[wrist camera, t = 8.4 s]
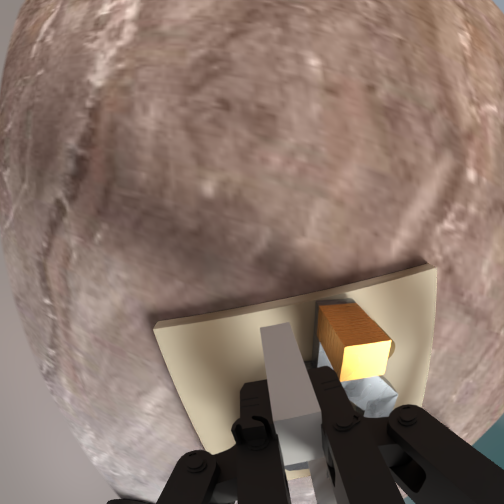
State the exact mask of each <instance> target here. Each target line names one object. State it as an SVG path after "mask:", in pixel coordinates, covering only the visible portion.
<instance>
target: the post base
mask: <svg viewBox="0 0 504 504" xmlns="http://www.w3.org/2000/svg"><path fill="white" fill-rule="evenodd" d="M436 292H437V267H435V266H433V265H431V264H429V263H427V264H424V265H420V266H417V267H413V268H409V269H406V270H402V271H398V272H395V273H391V274H387V275H383V276H379V277H376V278H372V279H368V280H364V281H360V282H356V283H352V284H347V285H343V286H339V287H335V288H331V289H326V290H322V291H317V292H313V293H308V294H304V295H299V296H295V297H290V298H285V299H280V300H276V301H271V302H266V303H261V304H256V305H250V306H245V307H240V308H235V309H229V310H224V311H218V312H212V313H207V314H201V315H195V316H189V317H182V318H176V319H170V320H163V321H157V323H156V325H155V326H154V328H153V331H154V334H155V336H156V339H157V342H158V344H159V347H160V350H161V352H162V355H163V358H164V360H165V363H166V365H167V368H168V370H169V373H170V375H171V377H172V380H173V382H174V385H175V387H176V389H177V391H178V394H179V396H180V398H181V401H182V403H183V405H184V407H185V409H186V411H187V414H188V416H189V418H190V420H191V422H192V424H193V426H194V428H195V430H196V432H197V434H198V436H199V438H200V440H201V442H202V444H203V446H204V448H205V450H206V451H207V452H209V453H211V454H212V455H214V454H217V453H220V452H223V451H225V450H228V449H230V448H231V447H232V446H234V445H235V444H236V442H235V440H234V437H233V434H232V432H231V428H232V425H233V423H234V422H235V421H236V420H237V419H238V418H240V390H241V388H242V387H243V385H244V383H248V382H254V381H259V380H265V379H267V375H266V368H265V361H264V354H263V347H262V340H261V333H260V328H261V327H266V326H271V325H276V324H281V323H286V322H289V323H290V325H291V328H292V331H293V334H294V336H295V339H296V342H297V345H298V347H299V350H300V353H301V356H302V359H303V361H310V360H311V359H312V347H313V334H314V319H315V302H316V301H319V300H333V299H346V298H352V299H353V300H354V301H355V302H356V303H357V304H358V305H359V306H360V307H361V308H362V309H363V310H364V311H365V312H366V313H367V315H368V316H369V317H370V318H371V319H372V320H373V321H374V322H375V323H376V324H377V325H378V326H379V327H380V328H381V329H382V331H383V332H384V333H385V334H386V335H387V336H388V337H389V338H390V339H391V345H390V350H389V354H388V359H387V363H386V367H385V371H384V374H382V376H383V377H385V378H386V379H387V380H388V381H389V382H390V383H391V385H392V386H393V387H394V389H395V390H396V392H397V393H398V397H397V400H396V403H395V406H394V408H393V410H394V409H395V408H397V407H399V406H401V405H407V404H412V405H417V406H419V407H422V402H423V398H424V393H425V388H426V382H427V377H428V371H429V365H430V358H431V351H432V343H433V334H434V323H435V311H436ZM350 402H351V401H350ZM351 404H352V406H353V408H354V410H356V406H357V405H356V404H354V403H353V402H351ZM307 462H308V466H309V469H302V470H294V471H288V470H286V469H285V472H286V476H287V480H292V479H297V478H302V477H307V476H311V479H312V483H313V487H314V491H315V496H316V500H317V504H337V502H336V499H335V495H334V492H333V488H332V485H331V481H330V478H327V462H326V458H325V455H324V457H323V458H319V459H315V460H310V461H307Z"/></svg>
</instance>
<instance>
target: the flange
mask: <svg viewBox="0 0 504 504" xmlns="http://www.w3.org/2000/svg"><path fill="white" fill-rule="evenodd" d="M390 345H391V339H390V338H389V337H388V336H387V335H386V334H385V333H384V332H383V331H382V329H381V328H380V327H379V326H378V325H377V324H376V323H375V322H374V321H373V320H372V319H371V318H370V317H369V316H368V315H367V313H366V312H365V311H364V310H363V309H362V308H361V307H360V306H359V305H358V304H357V303H356V302H355V301H354V300H353V299H352V298H346V299H333V300H319V301H316V302H315V319H314V334H313V347H312V359H311V360H310V361H304V364H305V367H306V370H310V369H314V368H318V367H322V366H326V365H327V366H329V367H330V368H332V369H333V370H335V372H336V374H337V376H338V378H339V380H340V382H341V384H342V386H343V388H344V390H345V392H346V394H347V396H348V398H349V400H350V401H351V402H353V403H354V404H356V405H357V406H356V410H355V411H356V412H358V413H360V414H361V415H362V416H364V417H369V418H379V417H389V415H390V413H391V412H392V411H393V408H394V406H395V403H396V400H397V397H398V393H397V392H396V390H395V389H394V387H393V386H392V385H391V383H390V382H389V381H388V380H387V379H386V378H385V377H383V376H382V374H384V371H385V367H386V363H387V359H388V354H389V350H390ZM285 469H286V470H288V471H294V470H302V469H309V466H308V462H307V461H306V462H301V463H296V464H291V465H285Z"/></svg>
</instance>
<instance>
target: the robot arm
mask: <svg viewBox="0 0 504 504" xmlns="http://www.w3.org/2000/svg"><path fill="white" fill-rule="evenodd" d="M260 333H261V340H262V347H263V354H264V361H265V368H266V375H267V379H265V380H259V381H254V382H248V383H244V385H243V387H242V388H241V390H240V418H238V419H237V420H236V421H235V422H234V423H233V425H232V428H231V432H232V434H233V437H234V440H235V442H236V444H235V445H234V446H232V447H231V448H230V449H228V450H225V451H223V452H220V453H217V454H214V455H212V454H211V453H209V452H207V451H203V450H194V451H191V452H188V453H186V454H185V455H183V456H182V457H181V458H180V459H179V460H178V462H177V464H176V466H175V468H174V470H173V472H172V473H171V475H170V477H169V479H168V481H167V483H166V485H165V487H164V489H163V491H162V493H161V495H160V497H159V499H158V501H157V502H156V504H235V501H236V500H238V504H291V499H290V493H289V487H288V481H287V476H286V472H285V465H291V464H296V463H301V462H306V461H310V460H315V459H319V458H323V457H324V455H325V458H326V462H327V478H330V481H331V485H332V488H333V492H334V495H335V499H336V502H337V504H405V502H404V500H403V498H402V496H401V493H400V491H399V489H398V487H397V485H398V486H399V487H400V488H401V489H402V490H403V491H404V492H405V493H406V494H407V495H408V496H409V497H410V498H411V499H412V500H413V501H414V502H415V503H416V504H504V470H503V469H502V468H500V467H499V466H498V465H496V464H495V463H494V462H492V461H491V460H490V459H488V458H487V457H486V456H484V455H483V454H481V453H480V452H479V451H477V450H476V449H475V448H473V447H472V446H471V445H470V444H468V443H467V442H466V441H464V440H463V439H462V438H460V437H459V436H458V435H456V434H455V433H454V432H452V431H451V430H450V429H448V428H447V427H446V426H445V425H443V424H442V423H441V422H439V421H438V420H437V419H435V418H434V417H433V416H432V415H430V414H429V413H428V412H426V411H425V410H424V409H422V408H421V407H419V406H417V405H412V404H407V405H401V406H399V407H397V408H395V409H394V410H393V411H392V412H391V413H390V415H389V417H379V418H369V417H364V416H362V415H361V414H360V413H358V412H356V411H355V410H354V408H353V406H352V404H351V402H350V400H349V398H348V396H347V394H346V392H345V390H344V388H343V386H342V384H341V382H340V380H339V378H338V376H337V374H336V372H335V370H333V369H332V368H330V367H329V366H327V365H326V366H322V367H318V368H314V369H310V370H306V367H305V364H304V361H303V359H302V356H301V353H300V350H299V347H298V345H297V342H296V339H295V336H294V334H293V331H292V328H291V325H290V323H289V322H286V323H281V324H276V325H271V326H266V327H261V328H260ZM395 482H396V483H397V485H396V483H395ZM107 504H149V503H144V502H139V501H134V500H126V499H114V500H110V501H108V502H107Z"/></svg>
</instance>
